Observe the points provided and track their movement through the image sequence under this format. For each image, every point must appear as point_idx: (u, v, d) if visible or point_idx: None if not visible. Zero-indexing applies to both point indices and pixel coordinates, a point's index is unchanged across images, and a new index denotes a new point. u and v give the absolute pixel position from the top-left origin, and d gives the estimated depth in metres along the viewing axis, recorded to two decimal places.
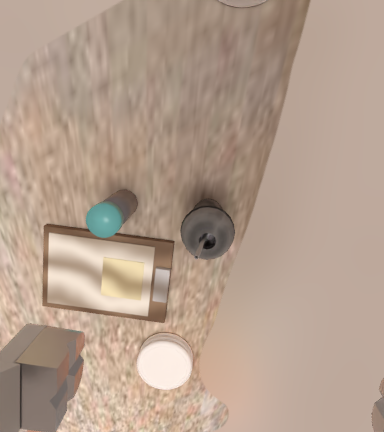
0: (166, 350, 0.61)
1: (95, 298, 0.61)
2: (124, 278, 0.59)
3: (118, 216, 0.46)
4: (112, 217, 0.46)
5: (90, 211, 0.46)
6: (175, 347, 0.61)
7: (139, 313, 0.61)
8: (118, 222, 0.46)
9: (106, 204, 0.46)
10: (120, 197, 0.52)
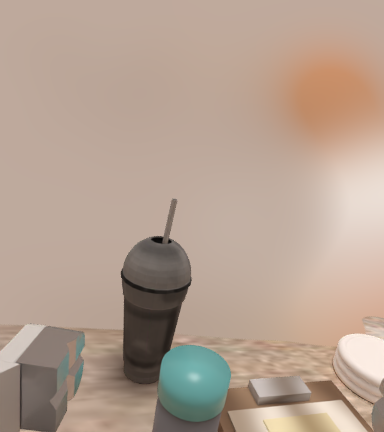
0: (358, 358, 0.42)
1: None
2: None
3: (175, 348, 0.24)
4: (181, 355, 0.24)
5: (186, 389, 0.21)
6: (344, 349, 0.43)
7: (348, 411, 0.35)
8: (186, 347, 0.25)
9: (160, 371, 0.22)
10: None
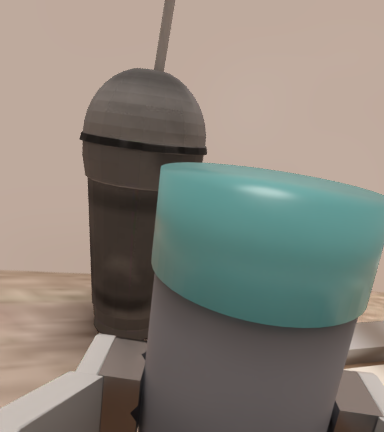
0: None
1: None
2: None
3: (198, 163, 0.09)
4: (218, 168, 0.08)
5: (263, 194, 0.05)
6: None
7: None
8: (227, 165, 0.09)
9: (160, 187, 0.07)
10: None
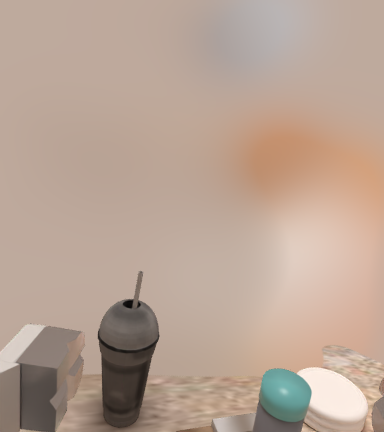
0: None
1: None
2: None
3: (267, 371, 0.35)
4: (273, 376, 0.34)
5: (286, 400, 0.31)
6: None
7: None
8: (274, 370, 0.35)
9: (264, 389, 0.33)
10: None
